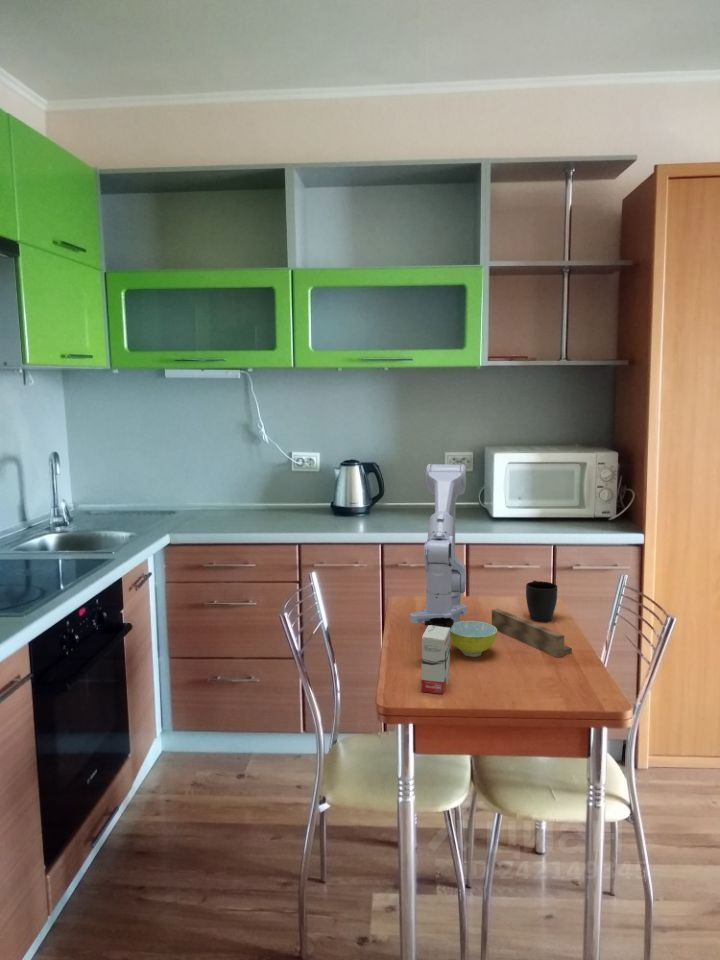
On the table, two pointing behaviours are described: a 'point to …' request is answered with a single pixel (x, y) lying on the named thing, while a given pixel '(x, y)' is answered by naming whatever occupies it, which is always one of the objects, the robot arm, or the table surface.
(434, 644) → the ink box
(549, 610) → the mug
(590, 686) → the table surface
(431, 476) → the robot arm
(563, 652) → the walnut wall
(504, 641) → the table surface
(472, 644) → the bowl
